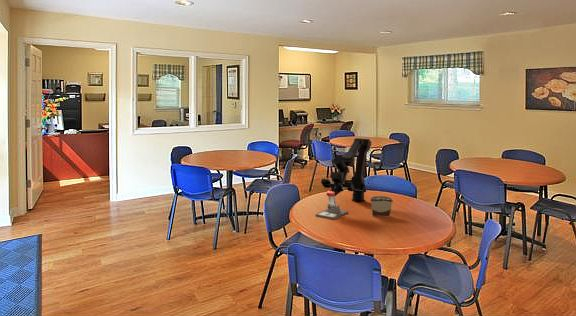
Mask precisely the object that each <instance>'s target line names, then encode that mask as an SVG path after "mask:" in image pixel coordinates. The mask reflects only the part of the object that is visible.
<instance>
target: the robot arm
mask: <svg viewBox="0 0 576 316" xmlns="http://www.w3.org/2000/svg"><path fill="white" fill-rule="evenodd" d="M353 139H354V140H353V143H352V144H351V146H350V148H348V150H347V152H345V153H344V154H343V155H342V154H338V155H337V156H335V157H334V158H333V159H332V163H333V165H334V166H335V168H336V170H337V172H336V171H331V172H330V174H329V178H331V181H330V179H329V178H322V179H321V180H320V183H321V185H322V187H323V188H325V189H331V190H330V191H334V192H335V195H334V197H336V196H337V195H338V194H341V193H342V192H344V189H345V188H347V191H348V192H352V198H351V201H353V202H356V203H362V202H366V199H365V193H366V192H367V189H368V188H367V186H366V183H365V182H366V180H365V177H364V171H365V167H366V166H365V164H366V158H367V154H368V152H369V151H371V150H370V149H371V146H372V140H371V139H370V138H360V137H359V138H358V137H357V138H356V137H355V138H353ZM357 153H358V156H357ZM356 156H357V161H356V160H355V157H356ZM355 161H356V167H355V174H354V176H351V178H350V179H351V180H350V181H347V175H348V174H349V173H350V168H349V167H353V165H354V164H355Z"/></svg>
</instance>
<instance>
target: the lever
mask: <svg viewBox="0 0 576 316" xmlns="http://www.w3.org/2000/svg"><path fill="white" fill-rule="evenodd" d="M334 195H335V192H334V191H332V190H327V191H326V196H327V198H328V202H329V203H328V204H330V208H334V209H337V203H336V198H335V197H336V196H335V197H334Z"/></svg>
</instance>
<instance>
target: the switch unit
mask: <svg viewBox="0 0 576 316" xmlns="http://www.w3.org/2000/svg"><path fill="white" fill-rule="evenodd" d="M336 207H337V209H334V208H330V203H328V204H327V208H326V209H324V210H322V211H320V212H318V213H315V217H317V218H323V219H329V220H333V221H336V220H338V218H341V217H342V216H344V215H346V214H348V213H349V211H348V210H344V209H341V208H340V205H336Z"/></svg>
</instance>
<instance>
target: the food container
mask: <svg viewBox="0 0 576 316" xmlns="http://www.w3.org/2000/svg"><path fill="white" fill-rule="evenodd" d="M369 202H371V204H370V205H371V215H372V217H390V216H391V211H392V210H391V209H392V203H394V201H393V198H392V197H390V196H384V195H383V196H382V195H375V196H372V197H370V200H369Z"/></svg>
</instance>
